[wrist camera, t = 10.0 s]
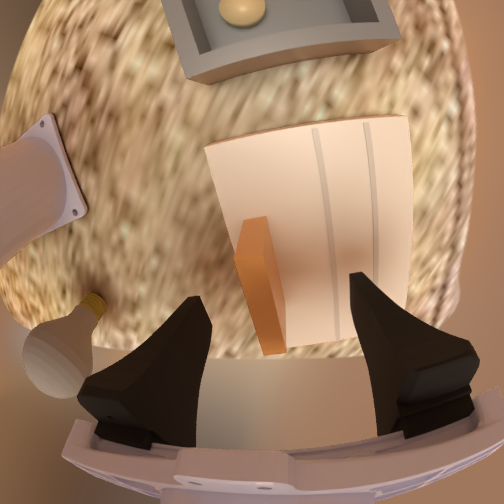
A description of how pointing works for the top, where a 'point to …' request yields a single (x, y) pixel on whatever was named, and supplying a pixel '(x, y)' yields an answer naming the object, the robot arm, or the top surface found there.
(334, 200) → the lid
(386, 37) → the tub
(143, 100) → the top surface
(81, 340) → the light bulb
